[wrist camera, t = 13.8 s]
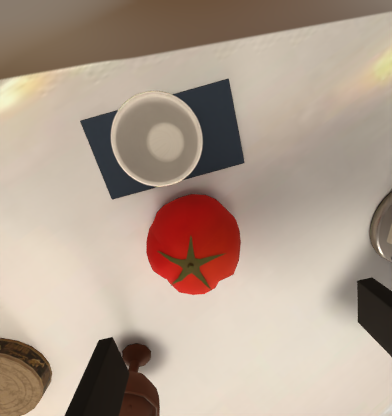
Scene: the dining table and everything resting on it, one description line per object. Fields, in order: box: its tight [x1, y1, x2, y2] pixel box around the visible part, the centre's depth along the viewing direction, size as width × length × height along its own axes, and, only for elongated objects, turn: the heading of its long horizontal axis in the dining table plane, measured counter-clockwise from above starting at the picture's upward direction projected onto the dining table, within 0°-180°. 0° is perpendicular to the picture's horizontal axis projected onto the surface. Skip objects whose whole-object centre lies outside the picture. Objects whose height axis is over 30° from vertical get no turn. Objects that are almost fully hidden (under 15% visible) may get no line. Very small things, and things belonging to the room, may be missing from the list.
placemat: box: [80, 79, 244, 199], centre depth 29 cm, size 20×11×1 cm, turn 105°
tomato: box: [147, 194, 241, 295], centre depth 28 cm, size 13×12×11 cm
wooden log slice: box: [0, 338, 52, 416], centre depth 38 cm, size 16×16×3 cm
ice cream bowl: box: [119, 343, 160, 416], centre depth 33 cm, size 11×11×15 cm
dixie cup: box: [111, 91, 203, 187], centre depth 24 cm, size 8×8×10 cm
